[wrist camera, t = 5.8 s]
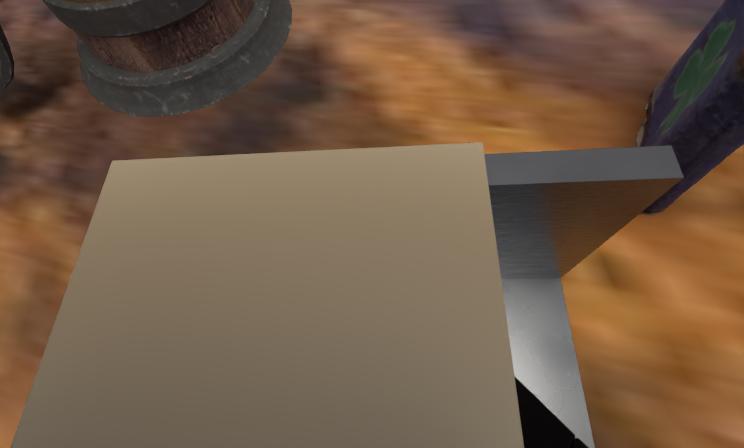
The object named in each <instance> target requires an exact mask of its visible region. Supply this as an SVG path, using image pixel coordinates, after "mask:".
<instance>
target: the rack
mask: <svg viewBox="0 0 744 448" xmlns="http://www.w3.org/2000/svg"><path fill="white" fill-rule="evenodd" d="M484 156H485V164H486V171H487V178H488V186H489V193H490V200H491V208H492V215H493V222H494V230H495V237H496V244H497V252H498V259H499V266H500V274H501V281H502V288H503V296H504V303H505V310H506V318H507V325H508V332H509V340H510V347H511V354H512V362H513V369H514V376H515V377H516V378H517V379H518V380H519V381H520V382H521V383H522V384H523V385H524V386H525V387H526V388H527V389H529V390H530V391H531V392H532V393H533V394H534V395H535V396H536V397H537V398H538V399H539V400H540V401H541V402H542V403H543V404H544V405H545V406H546V407H547V408H548V409H549V410H550V411H551V412H552V413H553V414H554V415H555V416H556V417H557V418H558V419H559V420H561V421H562V422H563V423H564V424H565V425H566V426H567V427H568V428H569V429H570V430H571V431H572V432H573V433H574V434H575V438H579V439H580V440H581V441H582V442H584V443H585V444H586V445H587V446H588V447H589V448H595V447H594V442H593V437H592V432H591V427H590V422H589V417H588V412H587V407H586V402H585V397H584V392H583V388H582V383H581V378H580V373H579V368H578V363H577V358H576V353H575V348H574V343H573V338H572V333H571V328H570V324H569V319H568V314H567V309H566V304H565V299H564V294H563V289H562V284H561V279H560V278H561V277H562V276H564V275H565V274H566V273H567V272H569V271H570V270H571V269H572V268H574V267H575V266H576V265H577V264H578V263H580V262H581V261H582V260H583V259H585V258H586V257H587V256H588V255H589V254H591V253H592V252H593V251H594V250H596V249H597V248H598V247H599V246H601V245H602V244H603V243H604V242H605V241H607V240H608V239H609V238H610V237H612V236H613V235H614V234H615V233H616V232H618V231H619V230H620V229H621V228H623V227H624V226H625V225H626V224H628V223H629V222H630V221H631V220H632V219H634V218H635V217H636V216H637V215H639V214H640V213H641V212H642V211H643V210H645V209H646V208H647V207H648V206H650V205H651V204H652V203H653V202H655V201H656V200H657V199H658V198H659V197H661V196H662V195H663V194H664V193H666V192H667V191H668V190H669V189H670V188H672V187H673V186H674V185H675V184H677V183H678V182H679V181H680V180H682V179H683V178H684V176H683V174H682V171H681V169H680V166H679V164H678V161H677V158H676V156H675V153H674V151H673V148H672V145H670V146H648V147H627V148H606V149H585V150H564V151H543V152H522V153H501V154H484Z"/></svg>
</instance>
